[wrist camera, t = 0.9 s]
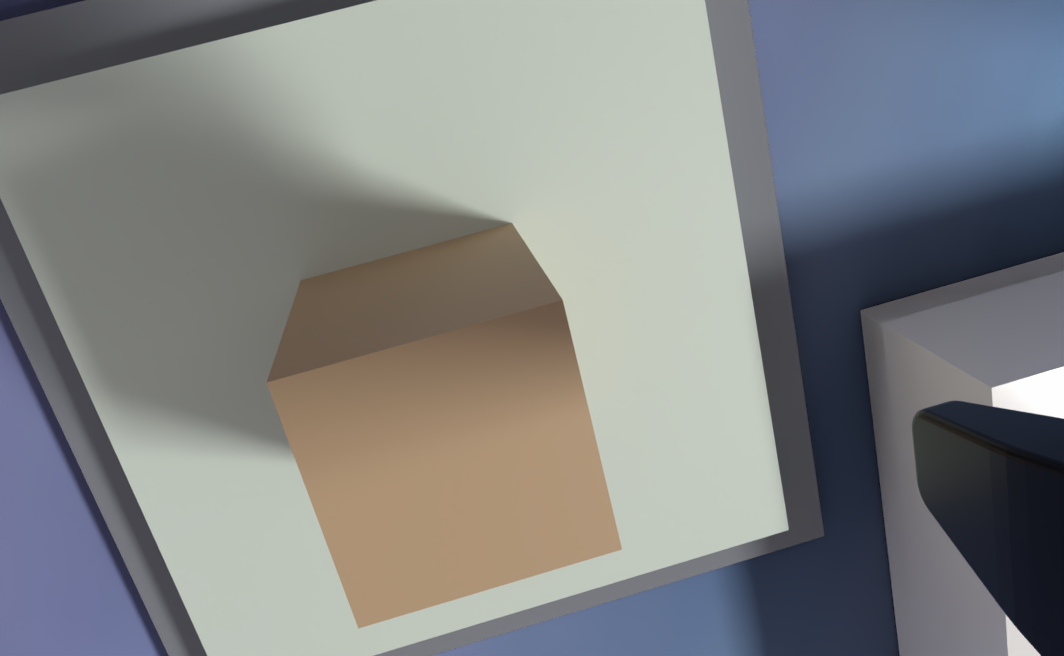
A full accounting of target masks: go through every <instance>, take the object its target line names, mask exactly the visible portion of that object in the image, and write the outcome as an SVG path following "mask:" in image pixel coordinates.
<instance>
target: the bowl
mask: <svg viewBox="0 0 1064 656" xmlns="http://www.w3.org/2000/svg"><path fill="white" fill-rule="evenodd" d="M860 313H861V322H862V331H863V339H864V348H865V357H866V366H867V374H868V383H869V392H870V401H871V409H872V418H873V427H874V436H875V444H876V453H877V462H878V471H879V479H880V488H881V497H882V506H883V514H884V523H885V532H886V541H887V549H888V558H889V567H890V576H891V584H892V593H893V602H894V611H895V619H896V628H897V637H898V646H899V654H900V656H1041V655H1040V654H1039V653H1038V652H1037V651H1036V650H1035V649H1034V647H1033V646H1032V645H1031V644H1030V643H1029V642H1028V641H1027V639H1026V638H1025V637H1024V636H1023V635H1022V634H1021V633H1020V631H1019V630H1018V629H1017V628H1016V627H1015V626H1014V624H1013V623H1012V622H1011V620H1010V619H1009V618H1008V617H1007V615H1006V614H1005V613H1004V611H1003V610H1002V609H1001V608H1000V606H999V605H998V604H997V602H996V601H995V600H994V598H993V597H992V596H991V594H990V593H989V591H988V590H987V589H986V587H985V586H984V585H983V583H982V582H981V581H980V579H979V578H978V576H977V575H976V574H975V572H974V571H973V570H972V568H971V567H970V566H969V564H968V563H967V562H966V560H965V559H964V557H963V556H962V555H961V553H960V552H959V551H958V549H957V548H956V547H955V545H954V544H953V543H952V541H951V540H950V538H949V537H948V536H947V534H946V533H945V532H944V530H943V529H942V528H941V526H940V525H939V523H938V522H937V521H936V519H935V518H934V517H933V515H932V514H931V513H930V511H929V510H928V508H927V507H926V505H925V504H924V502H923V500H922V497H921V495H920V492H919V489H918V485H917V477H916V467H915V457H914V447H913V436H912V420H913V417H914V415H915V414H916V413H917V411H919V410H921V409H924V408H928V407H931V406H934V405H938V404H941V403H944V402H948V401H963V402H969V403H975V404H981V405H987V406H993V407H999V408H1004V409H1010V410H1016V411H1022V412H1028V413H1034V414H1040V415H1046V416H1052V417H1058V418H1064V252H1062V253H1059V254H1055V255H1052V256H1048V257H1045V258H1041V259H1038V260H1034V261H1031V262H1027V263H1024V264H1020V265H1017V266H1013V267H1010V268H1006V269H1003V270H999V271H996V272H992V273H989V274H985V275H982V276H978V277H975V278H971V279H968V280H964V281H961V282H957V283H954V284H950V285H947V286H943V287H940V288H936V289H933V290H929V291H926V292H922V293H919V294H915V295H912V296H908V297H905V298H901V299H898V300H894V301H891V302H887V303H884V304H880V305H877V306H873V307H870V308H866V309H863V310H860Z"/></svg>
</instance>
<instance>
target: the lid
mask: <svg viewBox="0 0 1064 656" xmlns="http://www.w3.org/2000/svg"><path fill="white" fill-rule="evenodd" d="M0 199H1V201H2V203H3V205H4V207H5V210H6V212H7V214H8V216H9V218H10V221H11V223H12V225H13V227H14V229H15V232H16V234H17V236H18V238H19V241H20V243H21V245H22V247H23V249H24V252H25V254H26V256H27V258H28V260H29V263H30V265H31V267H32V269H33V271H34V274H35V276H36V278H37V280H38V283H39V285H40V287H41V289H42V291H43V294H44V296H45V298H46V300H47V302H48V305H49V307H50V309H51V311H52V313H53V316H54V318H55V320H56V322H57V325H58V327H59V329H60V331H61V333H62V336H63V338H64V340H65V342H66V344H67V347H68V349H69V351H70V353H71V355H72V358H73V360H74V362H75V364H76V367H77V369H78V371H79V373H80V375H81V378H82V380H83V382H84V384H85V386H86V389H87V391H88V393H89V395H90V397H91V400H92V402H93V404H94V406H95V409H96V411H97V413H98V415H99V417H100V420H101V422H102V424H103V426H104V428H105V431H106V433H107V435H108V437H109V439H110V442H111V444H112V446H113V448H114V451H115V453H116V455H117V457H118V459H119V462H120V464H121V466H122V468H123V470H124V473H125V475H126V477H127V479H128V481H129V484H130V486H131V488H132V490H133V493H134V495H135V497H136V499H137V501H138V504H139V506H140V508H141V510H142V512H143V515H144V517H145V519H146V521H147V523H148V526H149V528H150V530H151V532H152V535H153V537H154V539H155V541H156V543H157V546H158V548H159V550H160V552H161V554H162V557H163V559H164V561H165V563H166V565H167V568H168V570H169V572H170V574H171V577H172V579H173V581H174V583H175V585H176V588H177V590H178V592H179V594H180V596H181V599H182V601H183V603H184V605H185V607H186V610H187V612H188V614H189V616H190V619H191V621H192V623H193V625H194V627H195V630H196V632H197V634H198V636H199V638H200V641H201V643H202V645H203V647H204V649H205V652H206V654H207V656H374V655H377V654H381V653H384V652H387V651H390V650H394V649H397V648H400V647H404V646H407V645H410V644H414V643H417V642H420V641H424V640H427V639H430V638H433V637H437V636H440V635H443V634H447V633H450V632H453V631H457V630H460V629H463V628H467V627H470V626H473V625H476V624H480V623H483V622H486V621H490V620H493V619H496V618H500V617H503V616H506V615H509V614H513V613H516V612H519V611H523V610H526V609H529V608H533V607H536V606H539V605H543V604H546V603H549V602H552V601H556V600H559V599H562V598H566V597H569V596H572V595H576V594H579V593H582V592H586V591H589V590H592V589H595V588H599V587H602V586H605V585H609V584H612V583H615V582H619V581H622V580H625V579H629V578H632V577H635V576H638V575H642V574H645V573H648V572H652V571H655V570H658V569H662V568H665V567H668V566H672V565H675V564H678V563H681V562H685V561H688V560H691V559H695V558H698V557H701V556H705V555H708V554H711V553H714V552H718V551H721V550H724V549H728V548H731V547H734V546H738V545H741V544H744V543H748V542H751V541H754V540H757V539H761V538H764V537H767V536H771V535H774V534H777V533H781V532H784V531H787V530H789V527H788V521H787V515H786V508H785V502H784V496H783V489H782V483H781V477H780V470H779V464H778V458H777V451H776V445H775V439H774V433H773V426H772V420H771V414H770V407H769V401H768V395H767V388H766V382H765V376H764V369H763V363H762V357H761V351H760V344H759V338H758V332H757V325H756V319H755V313H754V306H753V300H752V294H751V288H750V281H749V275H748V269H747V262H746V256H745V250H744V243H743V237H742V231H741V224H740V218H739V212H738V206H737V199H736V193H735V187H734V180H733V174H732V168H731V161H730V155H729V149H728V142H727V136H726V130H725V124H724V117H723V111H722V105H721V98H720V92H719V86H718V79H717V73H716V67H715V61H714V54H713V48H712V42H711V35H710V29H709V23H708V16H707V10H706V4H705V0H376V1H372V2H368V3H364V4H360V5H356V6H352V7H348V8H344V9H340V10H336V11H332V12H328V13H324V14H320V15H316V16H312V17H308V18H304V19H300V20H296V21H292V22H288V23H284V24H280V25H276V26H272V27H268V28H264V29H260V30H256V31H252V32H248V33H244V34H240V35H236V36H232V37H228V38H224V39H220V40H216V41H212V42H208V43H204V44H200V45H196V46H192V47H188V48H184V49H180V50H176V51H172V52H168V53H164V54H160V55H156V56H152V57H148V58H144V59H140V60H136V61H132V62H128V63H124V64H120V65H116V66H112V67H108V68H104V69H101V70H97V71H93V72H89V73H85V74H81V75H77V76H73V77H69V78H65V79H61V80H57V81H53V82H49V83H45V84H41V85H37V86H33V87H29V88H25V89H21V90H17V91H13V92H9V93H5V94H1V95H0Z"/></svg>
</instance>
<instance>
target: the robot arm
mask: <svg viewBox="0 0 1064 656" xmlns="http://www.w3.org/2000/svg"><path fill="white" fill-rule="evenodd" d="M912 436H913V447H914V457H915V467H916V477H917V485H918V489H919V492H920V495H921V497H922V500H923V502H924V504H925V505H926V507H927V508H928V510H929V511H930V513H931V514H932V515H933V517H934V518H935V519H936V521H937V522H938V523H939V525H940V526H941V528H942V529H943V530H944V532H945V533H946V534H947V536H948V537H949V538H950V540H951V541H952V543H953V544H954V545H955V547H956V548H957V549H958V551H959V552H960V553H961V555H962V556H963V557H964V559H965V560H966V562H967V563H968V564H969V566H970V567H971V568H972V570H973V571H974V572H975V574H976V575H977V576H978V578H979V579H980V581H981V582H982V583H983V585H984V586H985V587H986V589H987V590H988V591H989V593H990V594H991V596H992V597H993V598H994V600H995V601H996V602H997V604H998V605H999V606H1000V608H1001V609H1002V610H1003V611H1004V613H1005V614H1006V615H1007V617H1008V618H1009V619H1010V620H1011V622H1012V623H1013V624H1014V626H1015V627H1016V628H1017V629H1018V630H1019V631H1020V633H1021V634H1022V635H1023V636H1024V637H1025V638H1026V639H1027V641H1028V642H1029V643H1030V644H1031V645H1032V646H1033V647H1034V649H1035V650H1036V651H1037V652H1038V653H1039V654H1040V655H1041V656H1064V418H1058V417H1052V416H1046V415H1040V414H1034V413H1028V412H1022V411H1016V410H1010V409H1004V408H999V407H993V406H987V405H981V404H975V403H969V402H963V401H948V402H944V403H941V404H938V405H934V406H931V407H928V408H924V409H921V410H919V411H917V413H916V414H915V415H914V417H913V420H912Z"/></svg>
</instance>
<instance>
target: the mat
mask: <svg viewBox="0 0 1064 656" xmlns="http://www.w3.org/2000/svg"><path fill="white" fill-rule="evenodd" d="M372 1H376V0H84V1H80V2H76V3H72V4H68V5H64V6H60V7H56V8H52V9H48V10H43V11H39V12H35V13H31V14H27V15H23V16H19V17H15V18H11V19H7V20H3V21H0V95H1V94H5V93H9V92H13V91H17V90H21V89H25V88H29V87H33V86H37V85H41V84H45V83H49V82H53V81H57V80H61V79H65V78H69V77H73V76H77V75H81V74H85V73H89V72H93V71H97V70H101V69H104V68H108V67H112V66H116V65H120V64H124V63H128V62H132V61H136V60H140V59H144V58H148V57H152V56H156V55H160V54H164V53H168V52H172V51H176V50H180V49H184V48H188V47H192V46H196V45H200V44H204V43H208V42H212V41H216V40H220V39H224V38H228V37H232V36H236V35H240V34H244V33H248V32H252V31H256V30H260V29H264V28H268V27H272V26H276V25H280V24H284V23H288V22H292V21H296V20H300V19H304V18H308V17H312V16H316V15H320V14H324V13H328V12H332V11H336V10H340V9H344V8H348V7H352V6H356V5H360V4H364V3H368V2H372ZM705 4H706V10H707V16H708V23H709V29H710V35H711V42H712V48H713V54H714V61H715V67H716V73H717V79H718V86H719V92H720V98H721V105H722V111H723V117H724V124H725V130H726V136H727V142H728V149H729V155H730V161H731V168H732V174H733V180H734V187H735V193H736V199H737V206H738V212H739V218H740V224H741V231H742V237H743V243H744V250H745V256H746V262H747V269H748V275H749V281H750V288H751V294H752V300H753V306H754V313H755V319H756V325H757V332H758V338H759V344H760V351H761V357H762V363H763V369H764V376H765V382H766V388H767V395H768V401H769V407H770V414H771V420H772V426H773V433H774V439H775V445H776V451H777V458H778V464H779V470H780V477H781V483H782V489H783V496H784V502H785V508H786V515H787V521H788V527H789V530H787V531H784V532H781V533H777V534H774V535H771V536H767V537H764V538H761V539H757V540H754V541H751V542H748V543H744V544H741V545H738V546H734V547H731V548H728V549H724V550H721V551H718V552H714V553H711V554H708V555H705V556H701V557H698V558H695V559H691V560H688V561H685V562H681V563H678V564H675V565H672V566H668V567H665V568H662V569H658V570H655V571H652V572H648V573H645V574H642V575H638V576H635V577H632V578H629V579H625V580H622V581H619V582H615V583H612V584H609V585H605V586H602V587H599V588H595V589H592V590H589V591H586V592H582V593H579V594H576V595H572V596H569V597H566V598H562V599H559V600H556V601H552V602H549V603H546V604H543V605H539V606H536V607H533V608H529V609H526V610H523V611H519V612H516V613H513V614H509V615H506V616H503V617H500V618H496V619H493V620H490V621H486V622H483V623H480V624H476V625H473V626H470V627H467V628H463V629H460V630H457V631H453V632H450V633H447V634H443V635H440V636H437V637H433V638H430V639H427V640H424V641H420V642H417V643H414V644H410V645H407V646H404V647H400V648H397V649H394V650H390V651H387V652H384V653H381V654H377V655H374V656H432V655H435V654H439V653H442V652H445V651H449V650H452V649H455V648H458V647H462V646H465V645H468V644H472V643H475V642H478V641H481V640H485V639H488V638H491V637H495V636H498V635H501V634H505V633H508V632H511V631H514V630H518V629H521V628H524V627H528V626H531V625H534V624H537V623H541V622H544V621H547V620H551V619H554V618H557V617H560V616H564V615H567V614H570V613H574V612H577V611H580V610H584V609H587V608H590V607H593V606H597V605H600V604H603V603H607V602H610V601H613V600H616V599H620V598H623V597H626V596H630V595H633V594H636V593H639V592H643V591H646V590H649V589H653V588H656V587H659V586H663V585H666V584H669V583H672V582H676V581H679V580H682V579H686V578H689V577H692V576H695V575H699V574H702V573H705V572H709V571H712V570H715V569H718V568H722V567H725V566H728V565H732V564H735V563H738V562H741V561H745V560H748V559H751V558H755V557H758V556H761V555H765V554H768V553H771V552H774V551H778V550H781V549H784V548H788V547H791V546H794V545H797V544H801V543H804V542H807V541H811V540H814V539H817V538H820V537H824V536H825V535H824V528H823V521H822V514H821V507H820V500H819V493H818V486H817V479H816V472H815V465H814V458H813V451H812V444H811V437H810V430H809V423H808V416H807V409H806V402H805V395H804V388H803V381H802V374H801V367H800V360H799V353H798V346H797V339H796V332H795V325H794V318H793V311H792V304H791V297H790V290H789V283H788V276H787V269H786V262H785V255H784V248H783V241H782V234H781V227H780V220H779V213H778V206H777V199H776V192H775V185H774V178H773V171H772V164H771V157H770V150H769V143H768V136H767V129H766V122H765V115H764V108H763V101H762V94H761V87H760V80H759V73H758V66H757V58H756V51H755V44H754V37H753V30H752V23H751V16H750V9H749V2H748V0H705ZM0 299H1V301H2V303H3V305H4V307H5V310H6V312H7V314H8V316H9V318H10V320H11V322H12V324H13V327H14V329H15V331H16V333H17V335H18V337H19V339H20V341H21V344H22V346H23V348H24V350H25V352H26V354H27V356H28V358H29V361H30V363H31V365H32V367H33V369H34V371H35V373H36V375H37V378H38V380H39V382H40V384H41V386H42V388H43V390H44V392H45V394H46V397H47V399H48V401H49V403H50V405H51V407H52V409H53V411H54V414H55V416H56V418H57V420H58V422H59V424H60V426H61V428H62V431H63V433H64V435H65V437H66V439H67V441H68V443H69V445H70V448H71V450H72V452H73V454H74V456H75V458H76V460H77V462H78V465H79V467H80V469H81V471H82V473H83V475H84V477H85V479H86V481H87V484H88V486H89V488H90V490H91V492H92V494H93V496H94V498H95V501H96V503H97V505H98V507H99V509H100V511H101V513H102V515H103V518H104V520H105V522H106V524H107V526H108V528H109V530H110V532H111V535H112V537H113V539H114V541H115V543H116V545H117V547H118V549H119V551H120V554H121V556H122V558H123V560H124V562H125V564H126V566H127V568H128V571H129V573H130V575H131V577H132V579H133V581H134V583H135V585H136V588H137V590H138V592H139V594H140V596H141V598H142V600H143V602H144V605H145V607H146V609H147V611H148V613H149V615H150V617H151V619H152V622H153V624H154V626H155V628H156V630H157V632H158V634H159V636H160V638H161V641H162V643H163V645H164V647H165V649H166V651H167V653H168V655H169V656H207V654H206V652H205V649H204V647H203V645H202V643H201V641H200V638H199V636H198V634H197V632H196V630H195V627H194V625H193V623H192V621H191V619H190V616H189V614H188V612H187V610H186V607H185V605H184V603H183V601H182V599H181V596H180V594H179V592H178V590H177V588H176V585H175V583H174V581H173V579H172V577H171V574H170V572H169V570H168V568H167V565H166V563H165V561H164V559H163V557H162V554H161V552H160V550H159V548H158V546H157V543H156V541H155V539H154V537H153V535H152V532H151V530H150V528H149V526H148V523H147V521H146V519H145V517H144V515H143V512H142V510H141V508H140V506H139V504H138V501H137V499H136V497H135V495H134V493H133V490H132V488H131V486H130V484H129V481H128V479H127V477H126V475H125V473H124V470H123V468H122V466H121V464H120V462H119V459H118V457H117V455H116V453H115V451H114V448H113V446H112V444H111V442H110V439H109V437H108V435H107V433H106V431H105V428H104V426H103V424H102V422H101V420H100V417H99V415H98V413H97V411H96V409H95V406H94V404H93V402H92V400H91V397H90V395H89V393H88V391H87V389H86V386H85V384H84V382H83V380H82V378H81V375H80V373H79V371H78V369H77V367H76V364H75V362H74V360H73V358H72V355H71V353H70V351H69V349H68V347H67V344H66V342H65V340H64V338H63V336H62V333H61V331H60V329H59V327H58V325H57V322H56V320H55V318H54V316H53V313H52V311H51V309H50V307H49V305H48V302H47V300H46V298H45V296H44V294H43V291H42V289H41V287H40V285H39V283H38V280H37V278H36V276H35V274H34V271H33V269H32V267H31V265H30V263H29V260H28V258H27V256H26V254H25V252H24V249H23V247H22V245H21V243H20V241H19V238H18V236H17V234H16V232H15V229H14V227H13V225H12V223H11V221H10V218H9V216H8V214H7V212H6V210H5V207H4V205H3V203H2V201H1V199H0Z"/></svg>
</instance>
